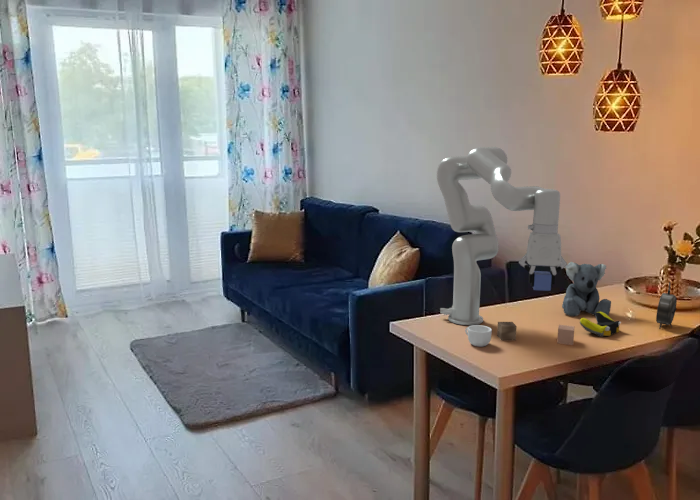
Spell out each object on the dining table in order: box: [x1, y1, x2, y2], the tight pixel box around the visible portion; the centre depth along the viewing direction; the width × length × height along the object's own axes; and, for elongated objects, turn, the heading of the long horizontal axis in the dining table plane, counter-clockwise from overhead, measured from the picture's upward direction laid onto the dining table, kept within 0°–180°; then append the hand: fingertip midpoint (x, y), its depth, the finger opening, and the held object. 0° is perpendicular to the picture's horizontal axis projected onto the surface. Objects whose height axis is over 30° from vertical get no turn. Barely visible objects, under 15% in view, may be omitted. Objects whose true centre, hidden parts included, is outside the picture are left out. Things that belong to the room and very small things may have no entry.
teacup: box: [464, 324, 493, 348], centre depth 215 cm, size 10×8×5 cm
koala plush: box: [561, 261, 612, 317], centre depth 252 cm, size 17×18×20 cm
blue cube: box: [532, 270, 552, 292], centre depth 207 cm, size 5×5×5 cm
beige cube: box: [556, 324, 576, 346], centre depth 217 cm, size 5×5×5 cm
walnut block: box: [496, 321, 517, 341], centre depth 221 cm, size 5×5×5 cm
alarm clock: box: [655, 281, 678, 330], centre depth 233 cm, size 11×5×16 cm, turn 145°
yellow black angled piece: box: [579, 312, 622, 337], centre depth 228 cm, size 15×6×10 cm
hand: (541, 285), depth 207 cm, fingers closed on blue cube, 4 cm apart
